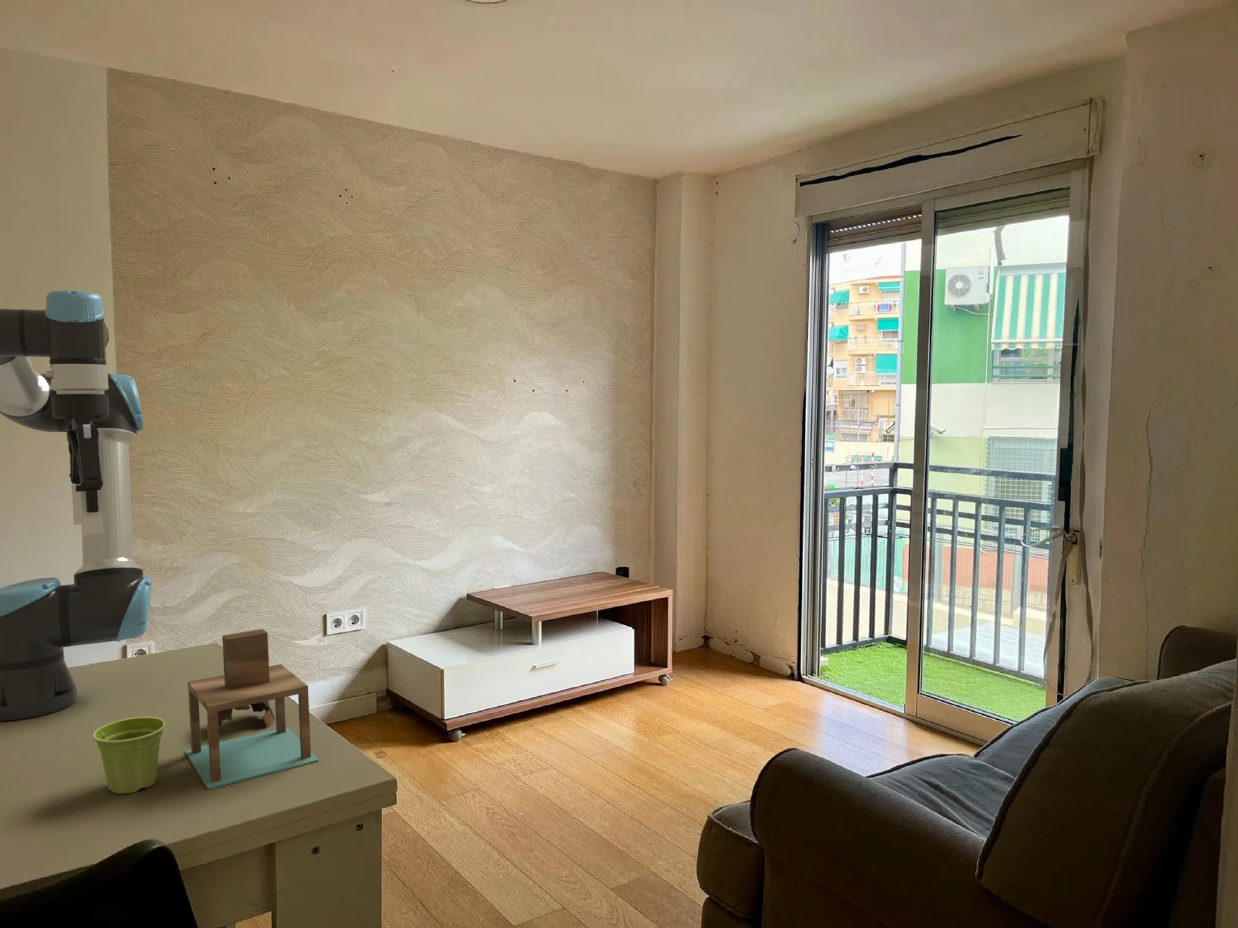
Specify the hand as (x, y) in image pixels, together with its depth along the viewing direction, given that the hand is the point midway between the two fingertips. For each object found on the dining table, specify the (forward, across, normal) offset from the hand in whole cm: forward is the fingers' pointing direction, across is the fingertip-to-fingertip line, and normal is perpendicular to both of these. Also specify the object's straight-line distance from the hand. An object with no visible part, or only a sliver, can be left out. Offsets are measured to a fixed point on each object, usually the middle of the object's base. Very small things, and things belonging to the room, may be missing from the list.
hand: (88, 529), depth 136 cm
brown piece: (+36, +15, +19) cm, 44 cm away
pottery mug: (+37, -1, +22) cm, 43 cm away
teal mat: (+37, +15, +19) cm, 44 cm away
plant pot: (+37, +15, +2) cm, 40 cm away
